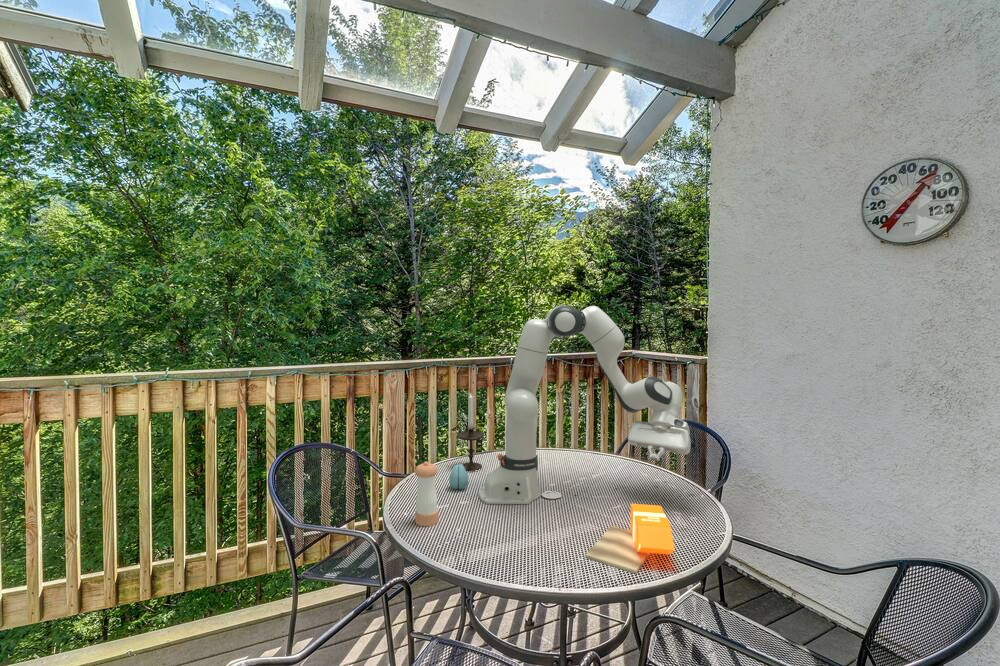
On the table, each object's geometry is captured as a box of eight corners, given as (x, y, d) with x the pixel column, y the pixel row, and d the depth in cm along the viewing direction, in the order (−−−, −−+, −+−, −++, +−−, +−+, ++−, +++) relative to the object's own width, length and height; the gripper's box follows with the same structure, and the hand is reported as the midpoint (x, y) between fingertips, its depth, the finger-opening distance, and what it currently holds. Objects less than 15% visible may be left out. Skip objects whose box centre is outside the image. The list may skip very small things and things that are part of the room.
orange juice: (630, 503, 142) (640, 532, 122) (660, 505, 141) (675, 535, 121) (630, 528, 142) (639, 562, 123) (660, 531, 141) (675, 565, 121)
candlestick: (481, 473, 191) (480, 388, 189) (455, 471, 193) (454, 387, 191) (486, 464, 202) (485, 383, 200) (461, 463, 204) (461, 383, 202)
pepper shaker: (431, 528, 144) (430, 467, 143) (410, 524, 147) (409, 464, 146) (442, 518, 151) (441, 459, 150) (422, 514, 154) (421, 457, 153)
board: (636, 573, 120) (636, 570, 120) (585, 557, 127) (585, 554, 127) (658, 540, 136) (658, 538, 136) (611, 528, 144) (611, 525, 144)
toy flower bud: (469, 459, 184) (467, 467, 172) (469, 482, 184) (468, 492, 172) (451, 459, 184) (448, 468, 172) (451, 482, 184) (448, 492, 172)
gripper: (631, 415, 167) (621, 449, 159) (692, 423, 155) (684, 460, 148) (635, 425, 171) (625, 458, 163) (694, 433, 159) (687, 470, 152)
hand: (654, 459), depth 156 cm, fingers closed
